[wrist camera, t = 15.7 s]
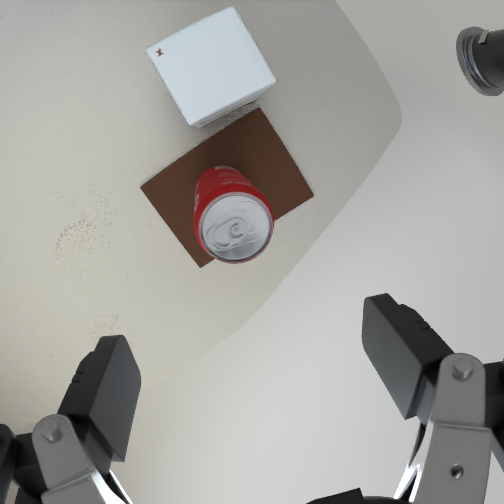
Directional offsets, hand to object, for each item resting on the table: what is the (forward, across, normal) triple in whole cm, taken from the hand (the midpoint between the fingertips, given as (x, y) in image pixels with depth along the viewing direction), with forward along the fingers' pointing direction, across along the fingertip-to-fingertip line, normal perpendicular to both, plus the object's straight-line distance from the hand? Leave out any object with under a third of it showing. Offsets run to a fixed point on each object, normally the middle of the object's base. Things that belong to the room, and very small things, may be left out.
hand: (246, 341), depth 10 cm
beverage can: (+27, 0, 0) cm, 27 cm away
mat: (+27, 0, 0) cm, 27 cm away
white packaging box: (+27, 0, -12) cm, 30 cm away
